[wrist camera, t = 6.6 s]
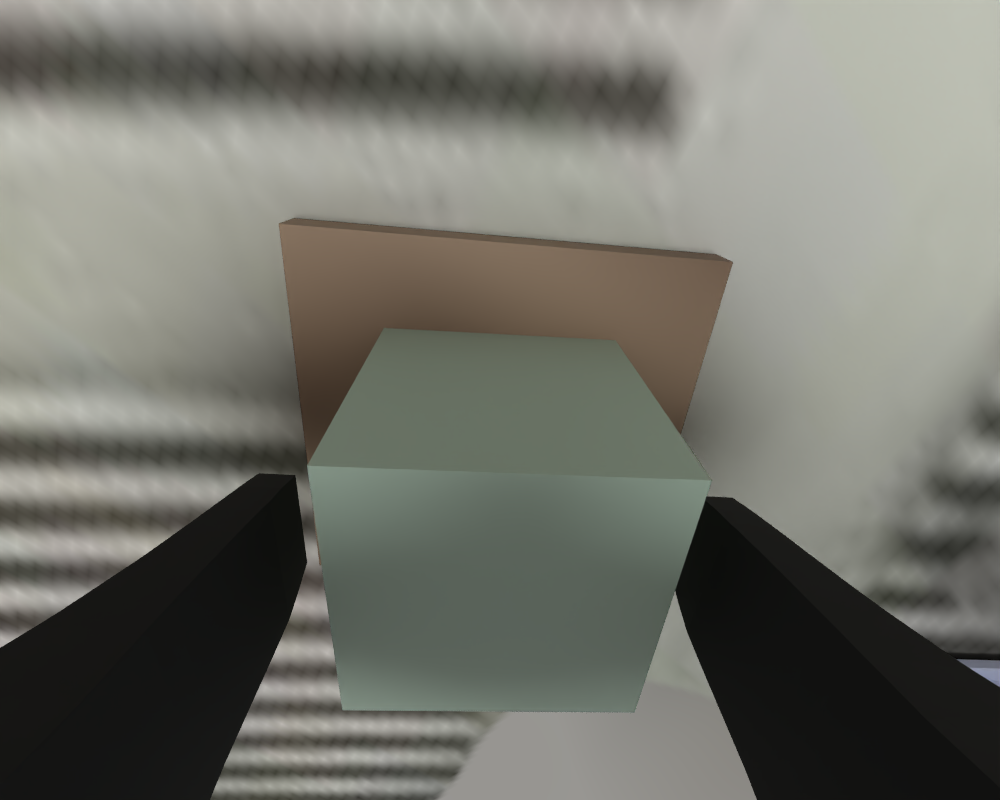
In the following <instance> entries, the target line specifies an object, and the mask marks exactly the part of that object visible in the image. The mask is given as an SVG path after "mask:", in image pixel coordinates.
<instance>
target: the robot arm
mask: <svg viewBox="0 0 1000 800" xmlns="http://www.w3.org/2000/svg"><path fill="white" fill-rule="evenodd" d="M306 564H307V558H306V551H305V543H304V536H303V529H302V521H301V514H300V506H299V499H298V492H297V484H296V477H295V475H279V474H260V473H259V474H258V475H256V476H255V477H253V478H252V479H250V480H249V481H247V482H246V483H244V484H243V485H242V486H240V487H239V488H237V489H236V490H235V491H233V492H232V493H230V494H229V495H228V496H226V497H225V498H224V499H222V500H221V501H220V502H218V503H217V504H215V505H214V506H213V507H211V508H210V509H209V510H207V511H206V512H204V513H203V514H202V515H200V516H199V517H198V518H196V519H195V520H193V521H192V522H191V523H189V524H188V525H186V526H185V527H184V528H182V529H181V530H179V531H178V532H177V533H175V534H174V535H172V536H171V537H170V538H168V539H167V540H165V541H164V542H163V543H161V544H160V545H158V546H157V547H156V548H154V549H153V550H151V551H150V552H149V553H147V554H146V555H144V556H143V557H141V558H140V559H139V560H137V561H135V562H134V563H132V564H131V565H129V566H128V567H126V568H125V569H123V570H122V571H120V572H119V573H117V574H116V575H114V576H113V577H111V578H110V579H108V580H107V581H105V582H104V583H102V584H101V585H99V586H98V587H96V588H95V589H93V590H92V591H90V592H89V593H87V594H86V595H84V596H83V597H81V598H79V599H78V600H76V601H75V602H73V603H72V604H70V605H69V606H67V607H66V608H64V609H63V610H61V611H60V612H58V613H57V614H55V615H53V616H52V617H50V618H49V619H47V620H45V621H44V622H42V623H41V624H39V625H37V626H36V627H34V628H32V629H31V630H29V631H27V632H26V633H24V634H23V635H21V636H19V637H18V638H16V639H14V640H13V641H11V642H9V643H8V644H6V645H4V646H3V647H1V648H0V800H210V798H211V796H212V793H213V791H214V788H215V786H216V783H217V781H218V779H219V776H220V774H221V771H222V769H223V766H224V764H225V762H226V759H227V757H228V755H229V753H230V750H231V748H232V746H233V744H234V742H235V739H236V737H237V735H238V733H239V731H240V728H241V726H242V724H243V722H244V719H245V717H246V715H247V713H248V711H249V708H250V706H251V704H252V702H253V699H254V697H255V695H256V693H257V691H258V688H259V686H260V684H261V682H262V680H263V677H264V675H265V673H266V671H267V668H268V666H269V664H270V662H271V659H272V657H273V655H274V653H275V650H276V648H277V646H278V644H279V641H280V639H281V637H282V635H283V632H284V630H285V628H286V625H287V623H288V621H289V619H290V615H291V612H292V609H293V606H294V603H295V600H296V597H297V594H298V591H299V587H300V584H301V581H302V577H303V574H304V571H305V568H306ZM675 591H676V595H677V599H678V603H679V606H680V610H681V613H682V616H683V620H684V623H685V626H686V630H687V633H688V635H689V637H690V640H691V642H692V645H693V647H694V650H695V652H696V655H697V657H698V659H699V662H700V664H701V667H702V669H703V671H704V674H705V676H706V679H707V681H708V683H709V686H710V688H711V690H712V693H713V695H714V697H715V700H716V702H717V704H718V707H719V709H720V711H721V714H722V716H723V718H724V721H725V723H726V725H727V727H728V730H729V732H730V735H731V737H732V739H733V742H734V744H735V746H736V749H737V751H738V753H739V756H740V758H741V760H742V763H743V765H744V767H745V770H746V773H747V775H748V778H749V780H750V783H751V786H752V788H753V791H754V793H755V796H756V798H757V800H1000V660H969V659H955V658H954V657H952V656H951V655H949V654H948V653H946V652H945V651H943V650H942V649H940V648H939V647H937V646H936V645H934V644H933V643H931V642H930V641H928V640H927V639H926V638H924V637H923V636H921V635H920V634H918V633H917V632H916V631H914V630H913V629H911V628H910V627H908V626H907V625H905V624H904V623H903V622H901V621H900V620H898V619H897V618H895V617H894V616H892V615H891V614H890V613H888V612H887V611H885V610H884V609H883V608H881V607H880V606H878V605H877V604H876V603H874V602H873V601H872V600H870V599H869V598H867V597H866V596H865V595H863V594H862V593H860V592H859V591H858V590H856V589H855V588H854V587H852V586H851V585H850V584H848V583H847V582H846V581H844V580H843V579H842V578H840V577H839V576H838V575H836V574H835V573H834V572H832V571H831V570H830V569H828V568H827V567H826V566H824V565H823V564H822V563H820V562H819V561H818V560H816V559H815V558H814V557H812V556H811V555H810V554H808V553H807V552H806V551H804V550H803V549H802V548H800V547H799V546H798V545H797V544H795V543H794V542H793V541H791V540H790V539H789V538H787V537H786V536H785V535H783V534H782V533H781V532H779V531H778V530H777V529H775V528H774V527H773V526H771V525H770V524H769V523H767V522H766V521H765V520H763V519H762V518H761V517H759V516H758V515H757V514H755V513H754V512H752V511H751V510H750V509H748V508H747V507H745V506H744V505H742V504H741V503H739V502H738V501H736V500H735V499H733V498H727V497H707V496H706V499H705V502H704V505H703V508H702V511H701V514H700V517H699V520H698V523H697V526H696V529H695V532H694V535H693V538H692V541H691V544H690V547H689V550H688V553H687V556H686V559H685V562H684V565H683V568H682V571H681V574H680V577H679V580H678V583H677V586H676V589H675Z"/></svg>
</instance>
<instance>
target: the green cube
mask: <svg viewBox="0 0 1000 800" xmlns="http://www.w3.org/2000/svg"><path fill="white" fill-rule="evenodd" d="M307 469H308V476H309V483H310V490H311V497H312V503H313V510H314V517H315V524H316V531H317V538H318V545H319V552H320V559H321V565H322V572H323V579H324V586H325V593H326V600H327V607H328V614H329V620H330V627H331V634H332V641H333V648H334V655H335V662H336V669H337V675H338V682H339V689H340V696H341V703H342V710H390V711H512V712H635V709H636V706H637V703H638V700H639V697H640V694H641V691H642V688H643V685H644V682H645V679H646V676H647V673H648V670H649V667H650V664H651V661H652V658H653V655H654V652H655V649H656V646H657V643H658V640H659V637H660V634H661V631H662V628H663V625H664V622H665V619H666V616H667V613H668V610H669V607H670V604H671V601H672V598H673V595H674V592H675V589H676V586H677V583H678V580H679V577H680V574H681V571H682V568H683V565H684V562H685V559H686V556H687V553H688V550H689V547H690V544H691V541H692V538H693V535H694V532H695V529H696V526H697V523H698V520H699V517H700V514H701V511H702V508H703V505H704V502H705V499H706V496H707V493H708V490H709V487H710V484H711V481H712V480H711V479H710V477H709V476H708V474H707V473H706V471H705V470H704V468H703V467H702V466H701V464H700V463H699V461H698V460H697V458H696V457H695V455H694V454H693V452H692V451H691V449H690V448H689V447H688V445H687V444H686V442H685V441H684V439H683V438H682V436H681V435H680V433H679V432H678V431H677V429H676V428H675V426H674V425H673V423H672V422H671V420H670V419H669V417H668V416H667V414H666V413H665V412H664V410H663V409H662V407H661V406H660V404H659V403H658V401H657V400H656V398H655V397H654V396H653V394H652V393H651V391H650V390H649V388H648V387H647V385H646V384H645V382H644V381H643V379H642V378H641V377H640V375H639V374H638V372H637V371H636V369H635V368H634V366H633V365H632V363H631V362H630V361H629V359H628V358H627V356H626V355H625V353H624V352H623V350H622V349H621V347H620V346H619V345H618V343H617V342H616V340H601V339H582V338H564V337H545V336H526V335H507V334H488V333H469V332H450V331H431V330H412V329H393V328H384V329H383V331H382V332H381V334H380V336H379V338H378V340H377V341H376V343H375V345H374V347H373V348H372V350H371V352H370V354H369V356H368V357H367V359H366V361H365V363H364V365H363V366H362V368H361V370H360V372H359V374H358V375H357V377H356V379H355V381H354V383H353V384H352V386H351V388H350V390H349V391H348V393H347V395H346V397H345V399H344V400H343V402H342V404H341V406H340V408H339V409H338V411H337V413H336V415H335V417H334V418H333V420H332V422H331V424H330V426H329V427H328V429H327V431H326V433H325V434H324V436H323V438H322V440H321V442H320V443H319V445H318V447H317V449H316V451H315V452H314V454H313V456H312V458H311V460H310V461H309V463H308V465H307Z"/></svg>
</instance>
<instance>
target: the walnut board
mask: <svg viewBox="0 0 1000 800" xmlns="http://www.w3.org/2000/svg"><path fill="white" fill-rule="evenodd" d="M279 229H280V238H281V246H282V254H283V263H284V271H285V279H286V288H287V296H288V304H289V313H290V321H291V330H292V338H293V346H294V355H295V363H296V371H297V380H298V388H299V396H300V405H301V413H302V422H303V430H304V438H305V447H306V455H307V463H309V461H310V460H311V458H312V456H313V454H314V452H315V451H316V449H317V447H318V445H319V443H320V442H321V440H322V438H323V436H324V434H325V433H326V431H327V429H328V427H329V426H330V424H331V422H332V420H333V418H334V417H335V415H336V413H337V411H338V409H339V408H340V406H341V404H342V402H343V400H344V399H345V397H346V395H347V393H348V391H349V390H350V388H351V386H352V384H353V383H354V381H355V379H356V377H357V375H358V374H359V372H360V370H361V368H362V366H363V365H364V363H365V361H366V359H367V357H368V356H369V354H370V352H371V350H372V348H373V347H374V345H375V343H376V341H377V340H378V338H379V336H380V334H381V332H382V331H383V329H384V328H393V329H412V330H431V331H450V332H469V333H488V334H507V335H526V336H545V337H564V338H582V339H601V340H616V342H617V343H618V345H619V346H620V347H621V349H622V350H623V352H624V353H625V355H626V356H627V358H628V359H629V361H630V362H631V363H632V365H633V366H634V368H635V369H636V371H637V372H638V374H639V375H640V377H641V378H642V379H643V381H644V382H645V384H646V385H647V387H648V388H649V390H650V391H651V393H652V394H653V396H654V397H655V398H656V400H657V401H658V403H659V404H660V406H661V407H662V409H663V410H664V412H665V413H666V414H667V416H668V417H669V419H670V420H671V422H672V423H673V425H674V426H675V428H676V429H677V431H678V432H679V433H680V434H681V431H682V428H683V425H684V421H685V418H686V415H687V411H688V408H689V405H690V402H691V398H692V395H693V392H694V388H695V385H696V382H697V379H698V375H699V372H700V369H701V365H702V362H703V359H704V356H705V352H706V349H707V346H708V342H709V339H710V336H711V333H712V329H713V326H714V323H715V319H716V316H717V313H718V310H719V306H720V303H721V300H722V296H723V293H724V290H725V287H726V283H727V280H728V277H729V273H730V270H731V267H732V264H733V262H732V261H729V260H727V259H725V258H723V257H721V256H718V255H716V254H705V253H693V252H682V251H670V250H658V249H647V248H635V247H623V246H612V245H600V244H588V243H576V242H565V241H553V240H541V239H530V238H518V237H506V236H495V235H483V234H471V233H460V232H448V231H436V230H424V229H413V228H401V227H389V226H378V225H366V224H354V223H343V222H331V221H319V220H308V219H296V218H293V219H290V220H288V221H285V222H282V223H279ZM312 505H313V503H312ZM313 514H314V510H313ZM314 522H315V517H314ZM315 530H316V524H315ZM316 539H317V547H318V555H319V564H320V565H321V559H320V552H319V545H318V538H317V531H316Z"/></svg>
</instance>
